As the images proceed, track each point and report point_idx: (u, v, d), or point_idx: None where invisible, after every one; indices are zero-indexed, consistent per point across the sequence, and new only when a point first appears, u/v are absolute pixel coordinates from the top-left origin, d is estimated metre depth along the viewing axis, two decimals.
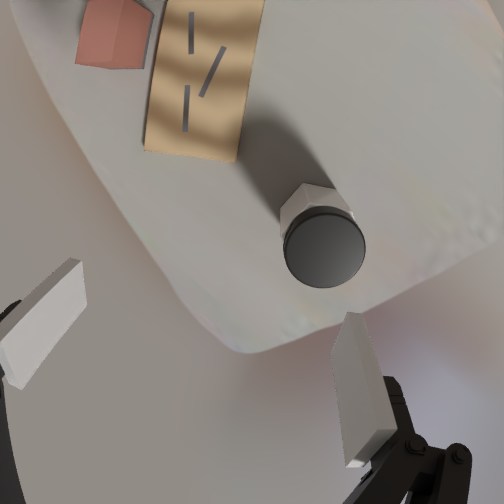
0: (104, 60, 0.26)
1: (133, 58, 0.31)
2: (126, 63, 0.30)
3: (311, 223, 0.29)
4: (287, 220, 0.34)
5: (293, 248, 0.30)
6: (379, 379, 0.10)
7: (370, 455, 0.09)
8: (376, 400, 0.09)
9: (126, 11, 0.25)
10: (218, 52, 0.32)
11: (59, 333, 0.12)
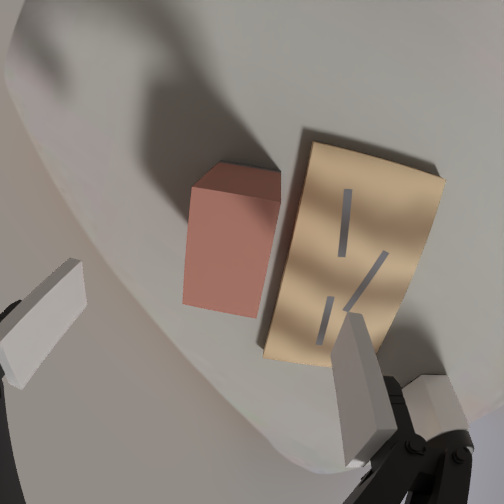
0: (242, 314, 0.21)
1: None
2: None
3: None
4: None
5: None
6: (379, 379, 0.10)
7: (370, 455, 0.09)
8: (376, 400, 0.09)
9: None
10: (377, 259, 0.27)
11: (59, 333, 0.12)
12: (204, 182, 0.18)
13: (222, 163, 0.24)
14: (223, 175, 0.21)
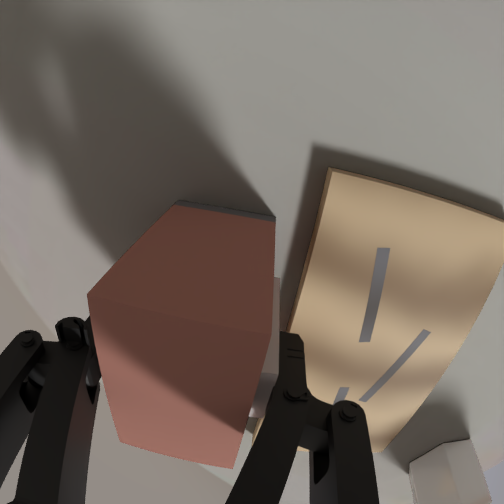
0: (211, 464, 0.11)
1: None
2: None
3: None
4: None
5: None
6: (274, 330, 0.12)
7: (263, 404, 0.11)
8: None
9: None
10: (414, 340, 0.17)
11: None
12: (119, 274, 0.09)
13: (178, 207, 0.15)
14: (167, 244, 0.11)
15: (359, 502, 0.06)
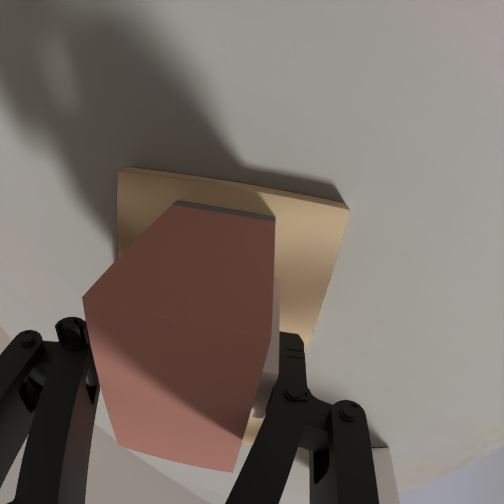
0: (210, 468, 0.11)
1: None
2: None
3: None
4: None
5: None
6: (274, 331, 0.12)
7: (263, 404, 0.11)
8: None
9: None
10: None
11: None
12: (116, 276, 0.09)
13: (177, 207, 0.15)
14: (165, 245, 0.11)
15: (359, 502, 0.06)
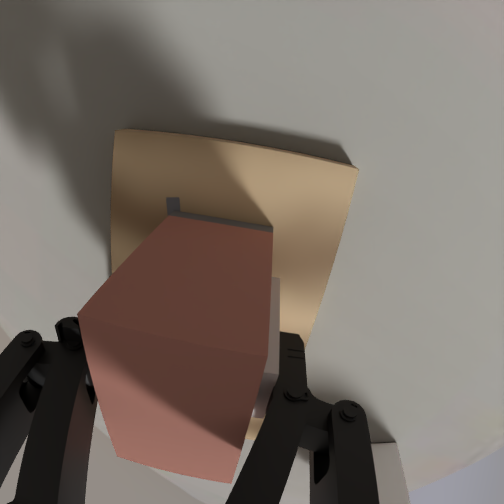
0: (209, 479, 0.11)
1: None
2: None
3: None
4: None
5: None
6: (275, 331, 0.12)
7: (264, 404, 0.11)
8: None
9: None
10: None
11: None
12: (111, 292, 0.08)
13: (173, 218, 0.15)
14: (161, 258, 0.11)
15: (359, 502, 0.06)
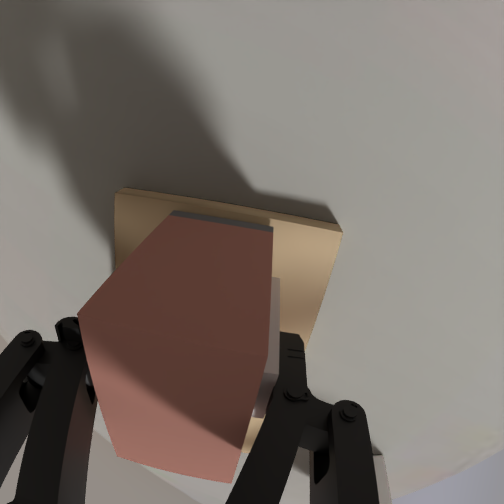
0: (209, 479, 0.11)
1: None
2: None
3: None
4: None
5: None
6: (275, 331, 0.12)
7: (263, 404, 0.11)
8: None
9: None
10: None
11: None
12: (111, 291, 0.08)
13: (174, 217, 0.15)
14: (161, 258, 0.11)
15: (359, 502, 0.06)
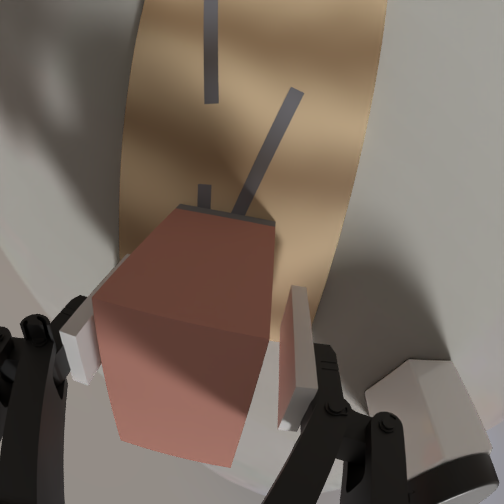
0: (209, 462, 0.11)
1: None
2: None
3: (445, 502, 0.11)
4: None
5: None
6: (308, 343, 0.12)
7: (299, 418, 0.10)
8: (301, 361, 0.11)
9: None
10: (282, 104, 0.14)
11: None
12: (123, 278, 0.09)
13: (180, 210, 0.15)
14: (169, 248, 0.12)
15: None
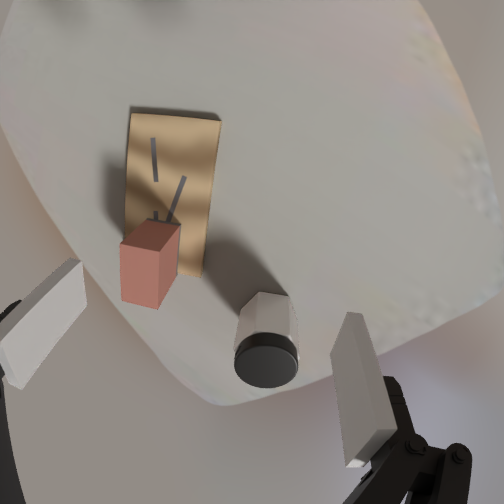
0: (150, 307, 0.38)
1: (170, 280, 0.42)
2: (166, 293, 0.41)
3: (253, 351, 0.37)
4: (240, 335, 0.42)
5: (240, 365, 0.38)
6: (379, 379, 0.10)
7: (370, 455, 0.09)
8: (376, 400, 0.09)
9: (162, 261, 0.36)
10: (179, 181, 0.40)
11: (59, 333, 0.12)
12: (127, 240, 0.36)
13: (147, 220, 0.42)
14: (140, 232, 0.38)
15: None
